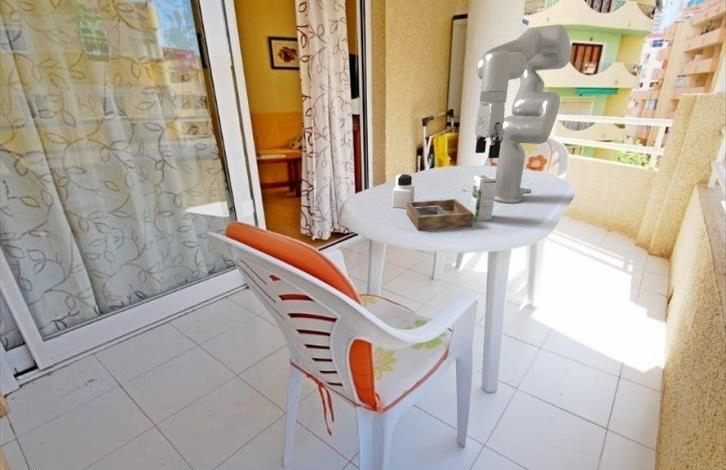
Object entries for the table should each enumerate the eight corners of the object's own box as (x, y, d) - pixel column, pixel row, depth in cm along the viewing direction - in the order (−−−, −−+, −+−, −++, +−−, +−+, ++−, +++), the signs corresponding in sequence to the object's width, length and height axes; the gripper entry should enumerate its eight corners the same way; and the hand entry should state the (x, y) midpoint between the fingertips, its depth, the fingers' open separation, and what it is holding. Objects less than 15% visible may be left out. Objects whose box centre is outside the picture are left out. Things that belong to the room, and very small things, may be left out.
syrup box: (468, 215, 119) (472, 175, 114) (485, 214, 120) (489, 174, 114) (475, 221, 114) (479, 179, 108) (492, 220, 115) (497, 178, 109)
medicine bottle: (414, 203, 134) (414, 173, 130) (410, 209, 128) (411, 178, 123) (396, 202, 137) (396, 172, 132) (392, 207, 130) (392, 177, 126)
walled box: (454, 210, 125) (455, 199, 123) (471, 226, 110) (473, 213, 108) (406, 214, 123) (406, 202, 121) (417, 230, 108) (418, 217, 107)
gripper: (469, 98, 110) (465, 151, 116) (494, 98, 94) (487, 160, 100) (492, 97, 110) (486, 150, 117) (520, 98, 94) (511, 159, 101)
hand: (486, 155), depth 109 cm, fingers open, 9 cm apart
